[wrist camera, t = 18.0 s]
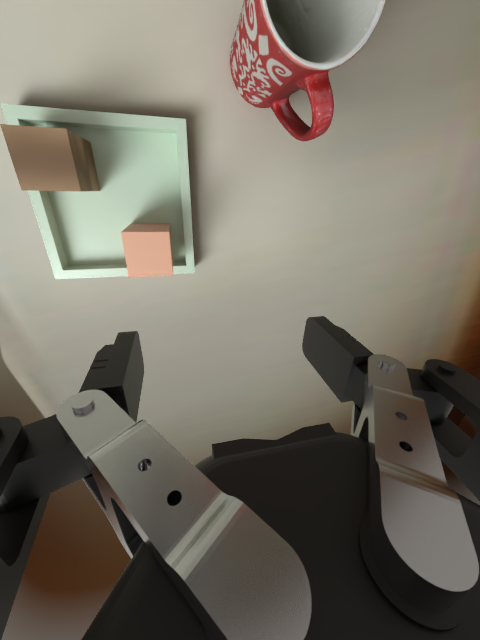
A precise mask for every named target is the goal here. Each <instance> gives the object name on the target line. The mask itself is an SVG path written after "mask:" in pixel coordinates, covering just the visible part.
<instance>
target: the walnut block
mask: <svg viewBox="0 0 480 640" xmlns="http://www.w3.org/2000/svg"><path fill="white" fill-rule="evenodd" d="M0 125H1V128H2V131H3V134H4V137H5V140H6V143H7V146H8V150H9V153H10V156H11V159H12V162H13V165H14V168H15V171H16V174H17V177H18V180H19V183H20V186H21V189H22V190H30V191H80V192H81V191H100V186H99V181H98V176H97V171H96V166H95V162H94V157H93V152H92V147H91V142H89V141H87V140H86V139H84V138H82V137H80V136H78V135H77V134H75V133H73V132H71V131H70V130H68V129H65V128H50V127H35V126H20V125H5V124H0Z"/></svg>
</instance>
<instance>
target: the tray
mask: <svg viewBox="0 0 480 640" xmlns="http://www.w3.org/2000/svg"><path fill="white" fill-rule="evenodd" d="M0 105H1V108H2V111H3V114H4V117H5V120H6V124H7V125H20V126H35V127H50V128H65V129H68V130H70V131H71V132H73V133H75V134H77V135H78V136H80V137H82V138H84V139H86V140H87V141H89V142H91V147H92V152H93V157H94V162H95V166H96V171H97V176H98V181H99V186H100V191H81V192H80V191H30V190H28V193H29V197H30V200H31V203H32V206H33V209H34V212H35V216H36V219H37V222H38V225H39V228H40V231H41V235H42V238H43V241H44V244H45V247H46V251H47V254H48V257H49V260H50V263H51V266H52V270H53V273H54V276H55V279H70V278H93V277H116V276H128V271H127V265H126V259H125V254H124V248H123V242H122V236H121V231H123V230H124V229H125V228H126V227H127V226H129V225H130V224H131V223H137V224H170V232H171V243H172V254H173V274H185V273H195V268H194V251H193V234H192V217H191V200H190V183H189V166H188V149H187V131H186V119H181V118H169V117H157V116H145V115H133V114H121V113H109V112H97V111H85V110H73V109H61V108H49V107H37V106H25V105H13V104H1V103H0Z"/></svg>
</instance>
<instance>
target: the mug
mask: <svg viewBox="0 0 480 640" xmlns="http://www.w3.org/2000/svg"><path fill="white" fill-rule="evenodd" d="M385 2H386V0H244V4H243V7H242V10H241V14H240V18H239V22H238V26H237V29H236V33H235V36H234V39H233V43H232V47H231V55H230V66H231V74H232V77H233V81H234V83H235V86H236V88H237V90H238V92H239V93H240V94H241V96H242V97H243V98H244V99H245V100H246V101H247V102H248V103H250V104H252V105H253V106H255V107H259V108H269V107H271V109H272V110H273V112H274V113H275V115H276V117H277V118H278V120H279V121H280V123H281V124H282V125H283V126H284V128H285V129H286V130H287V131H288V132H289V133H290V134H291V135H292V136H293V137H294V138H296V139H298V140H300V141H309V140H312V139H314V138H316V137H318V136H320V135H322V134H323V133H325V132H326V131H327V129H328V128H329V126H330V124H331V121H332V117H333V109H334V102H333V94H332V89H331V86H330V82H329V78H328V71H329V70H330V69H332V68H336V67H338V66H340V65H342V64H343V63H345V62H347V61H348V60H349V59H351V58H352V57H353V56H354V55H355V54H356V53H357V52H358V51H359V50H360V49H361V48H362V47H363V46H364V44H365V43H366V42H367V40H368V39H369V37H370V36H371V34H372V33H373V31H374V29H375V27H376V25H377V23H378V21H379V18H380V16H381V13H382V11H383V8H384V5H385ZM299 89H302V90H305V91H306V93H307V94H308V97H309V99H310V103H311V108H312V125H311V128H310V127H309V126H308V125H306V124H305V123H304V122H303V121H302V120H301V119H300V118H299V116H298V115H297V114H296V113H295V111H294V110H293V109H292V107H291V105H290V103H289V96H290V95H291V94H293V93H294V92H296V91H297V90H299Z"/></svg>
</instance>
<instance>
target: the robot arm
mask: <svg viewBox="0 0 480 640" xmlns="http://www.w3.org/2000/svg"><path fill="white" fill-rule="evenodd" d="M302 348H303V353H304V355H305V357H306V358H307V359H308V361H309V362H310V363H311V364H312V366H313V367H314V368H315V370H316V371H317V372H318V373H319V375H320V376H321V377H322V378H323V380H324V381H325V382H326V384H327V385H328V386H329V387H330V389H331V390H332V391H333V393H334V394H335V395H336V396H337V398H338V399H339V400H340V401H341V402H347V401H353V402H354V405H353V409H352V422H351V435H348V434H344V433H338V432H335V431H334V429H333V428H332V426H331V425H330V423H326V424H320V425H315V426H309V427H304V428H301V429H299V430H297V431H295V432H293V433H291V434H289V435H286V436H284V437H282V438H280V439H278V440H262V439H238V440H233V441H227V442H222V443H217V444H212V456H209V457H207V458H206V459H204V460H202V461H201V462H199V463H198V464H197V465H196V466H194V465H193V464H192V463H191V462H190V461H189V460H188V459H187V458H186V457H185V456H183V455H182V454H181V453H180V452H179V451H178V450H177V449H176V448H175V447H174V446H173V445H172V444H171V443H170V442H169V441H167V440H166V439H165V438H164V437H163V436H162V435H161V434H160V433H159V432H158V431H157V430H156V429H155V428H154V427H153V426H151V425H150V424H149V423H148V422H147V421H145V420H141V421H139V422H138V423H136V421H137V414H138V408H139V401H140V395H141V388H142V382H143V375H144V364H143V357H142V351H141V345H140V340H139V334H138V332H137V331H132V332H119V333H118V335H117V338H116V340H115V343H114V344H113V345H105V346H104V347H103V348H102V349H101V350H100V351H98V352H97V354H96V356H95V358H94V360H93V363H92V365H91V367H90V369H89V371H88V374H87V376H86V378H85V380H84V382H83V385H82V387H81V389H80V391H79V393H77V394H75V395H73V396H71V397H69V398H68V399H66V400H65V401H64V402H63V403H62V404H61V405H60V406H59V408H58V410H57V413H56V414H55V415H53V416H51V417H48V418H45V419H42V420H39V421H36V422H34V423H31V424H28V425H25V426H23V425H22V423H21V421H20V420H19V419H18V418H15V417H0V640H1V638H2V635H3V632H4V629H5V626H6V624H7V621H8V618H9V614H10V612H11V608H12V605H13V602H14V600H15V597H16V594H17V591H18V588H19V585H20V582H21V579H22V576H23V573H24V570H25V567H26V564H27V561H28V558H29V555H30V552H31V549H32V546H33V543H34V540H35V537H36V534H37V531H38V528H39V525H40V523H41V520H42V517H43V513H44V511H45V508H46V505H47V502H48V498H49V496H50V493H51V492H53V491H55V490H58V489H60V488H61V487H64V486H66V485H68V484H70V483H73V482H75V481H77V480H79V479H81V478H82V479H83V480H84V482H85V483H86V485H87V487H88V488H89V490H90V491H91V493H92V494H93V496H94V497H95V498H96V500H97V502H98V503H99V505H100V506H101V508H102V510H103V511H104V513H105V514H106V516H107V517H108V519H109V521H110V522H111V524H112V526H113V528H114V530H115V532H116V534H117V536H118V538H119V539H120V541H121V543H122V544H123V546H124V548H125V549H126V551H127V553H128V554H129V556H130V557H131V561H130V562H129V564H128V566H127V567H126V569H125V571H124V572H123V574H122V575H121V577H120V579H119V580H118V582H117V583H116V585H115V586H114V588H113V590H112V591H111V593H110V595H109V596H108V598H107V599H106V601H105V603H104V604H103V606H102V607H101V609H100V610H99V612H98V614H97V615H96V617H95V618H94V620H93V622H92V623H91V625H90V627H89V629H88V630H87V631H86V633H85V635H84V636H83V638H82V639H81V640H480V505H478V504H476V503H474V502H472V501H471V500H469V499H467V498H466V497H464V496H462V495H460V494H459V493H457V492H455V491H453V490H452V489H450V488H449V486H448V485H447V482H446V479H445V476H444V472H443V468H442V464H441V461H440V458H441V460H442V461H444V463H445V464H446V465H447V466H448V467H449V468H450V469H451V470H452V471H453V473H454V474H455V475H456V476H457V477H458V478H459V479H460V480H461V481H462V482H463V483H464V484H465V485H466V487H467V488H468V489H469V490H470V491H471V492H472V493H473V494H474V495H475V496H476V497H477V499H478V500H479V501H480V381H479V380H478V379H476V378H475V377H473V376H472V375H470V374H469V373H467V372H466V371H464V370H463V369H461V368H460V367H458V366H456V365H454V364H452V363H449V362H446V361H442V360H437V359H431V360H427V361H426V362H425V364H424V366H423V369H422V370H419V369H409V368H406V366H405V365H404V364H403V363H402V362H400V361H399V360H397V359H395V358H393V357H390V356H387V355H381V354H375V355H374V354H373V353H372V352H370V351H369V350H368V349H367V348H366V347H364V346H363V345H362V344H361V343H360V342H358V341H356V339H355V338H354V337H352V336H351V335H350V334H349V333H348V332H346V331H345V330H344V329H342V328H340V327H338V326H336V325H334V324H333V323H332V322H330V321H329V320H328V319H327V318H326V317H324V316H319V317H309V318H308V319H307V321H306V326H305V332H304V338H303V344H302ZM453 405H454V406H456V407H457V408H458V409H459V410H461V411H462V412H463V413H464V414H465V415H467V416H468V417H469V418H470V419H471V420H472V421H473V422H474V423H475V425H476V428H477V434H476V436H475V438H474V439H473V440H472V439H471V438H470V437H469V436H467V435H466V434H465V433H464V432H463V431H462V430H461V429H460V428H458V427H457V426H456V425H455V424H454V423H453V422H452V421H451V420H450V419H448V418H447V416H448V414H449V413H450V411H451V409H452V407H453Z"/></svg>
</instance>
